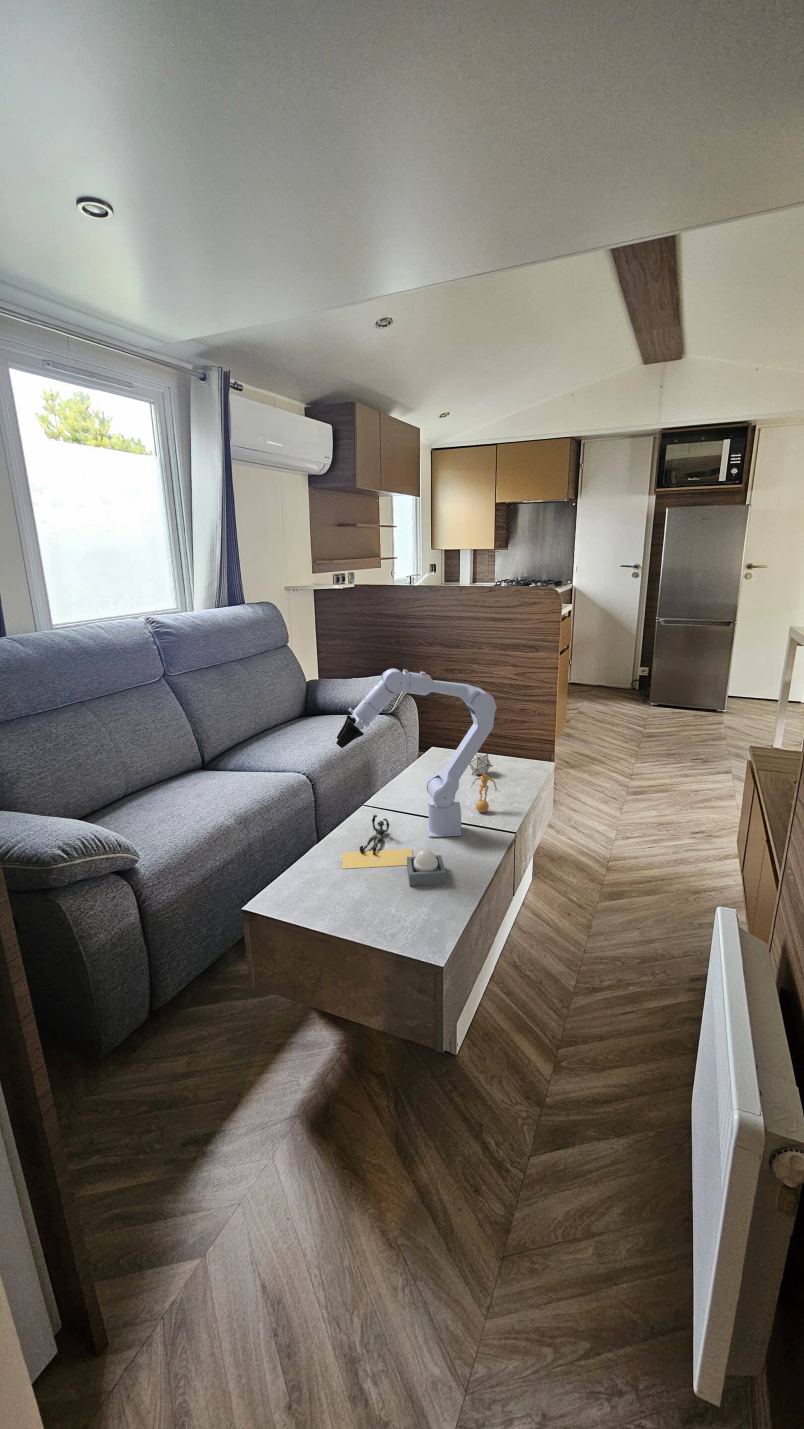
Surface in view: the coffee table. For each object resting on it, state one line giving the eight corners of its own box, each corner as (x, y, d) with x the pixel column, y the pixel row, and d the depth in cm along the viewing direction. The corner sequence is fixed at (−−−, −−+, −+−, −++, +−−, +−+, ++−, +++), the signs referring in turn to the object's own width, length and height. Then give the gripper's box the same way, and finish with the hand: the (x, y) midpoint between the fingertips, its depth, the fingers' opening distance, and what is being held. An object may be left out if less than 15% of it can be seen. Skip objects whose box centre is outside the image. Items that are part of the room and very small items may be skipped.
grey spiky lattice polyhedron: (475, 783, 227) (464, 758, 230) (496, 774, 227) (485, 749, 230) (474, 779, 219) (463, 754, 221) (496, 770, 218) (485, 744, 221)
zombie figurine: (358, 830, 167) (374, 810, 181) (359, 854, 169) (375, 831, 183) (376, 832, 166) (392, 811, 180) (378, 855, 167) (393, 832, 181)
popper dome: (436, 862, 159) (435, 844, 157) (439, 874, 153) (438, 855, 152) (413, 863, 158) (412, 845, 157) (415, 875, 153) (414, 856, 151)
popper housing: (441, 866, 161) (441, 855, 160) (445, 884, 152) (445, 872, 151) (407, 868, 160) (406, 857, 160) (409, 886, 152) (409, 874, 151)
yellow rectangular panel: (411, 849, 171) (411, 848, 171) (414, 865, 162) (414, 864, 162) (342, 852, 170) (342, 852, 170) (341, 869, 161) (341, 868, 161)
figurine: (467, 812, 193) (467, 776, 190) (473, 805, 198) (473, 770, 195) (493, 816, 190) (494, 779, 187) (498, 808, 195) (499, 773, 192)
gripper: (360, 692, 174) (328, 728, 174) (361, 699, 159) (327, 738, 160) (378, 708, 175) (347, 744, 176) (382, 717, 161) (347, 755, 161)
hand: (339, 742), depth 168 cm, fingers open, 7 cm apart
